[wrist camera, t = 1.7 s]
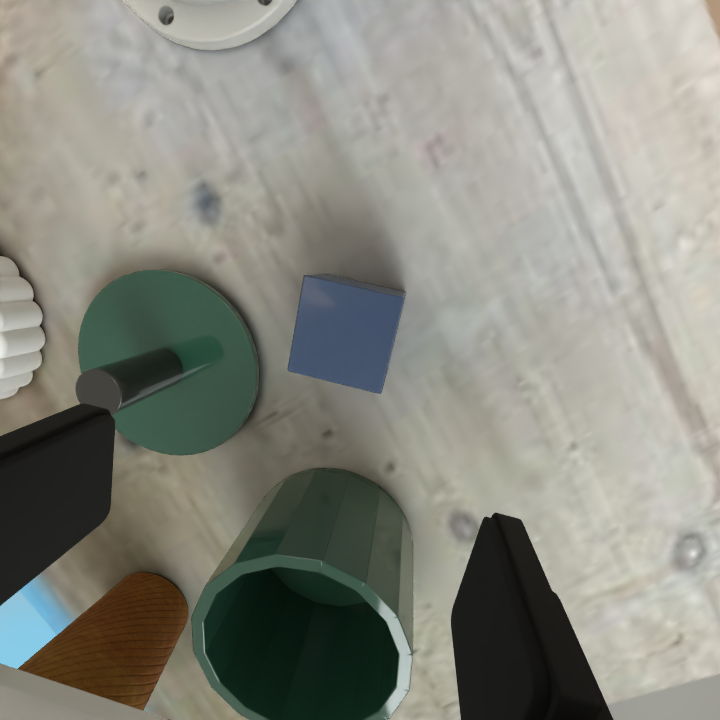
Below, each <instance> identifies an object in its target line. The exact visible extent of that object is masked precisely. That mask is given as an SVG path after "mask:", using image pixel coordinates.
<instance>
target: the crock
mask: <svg viewBox="0 0 720 720" xmlns="http://www.w3.org/2000/svg"><path fill="white" fill-rule="evenodd" d="M191 621H192V636H193V651H194V655H195V656H196V658H197V660H198V662H199V664H200V666H201V668H202V670H203V672H204V674H205V676H206V678H207V680H208V682H209V684H210V685H211V687H212V688H213V689H214V690H215V691H216V692H217V693H218V694H219V695H220V696H221V697H222V698H223V699H224V700H225V701H226V702H227V703H228V704H229V705H230V706H231V707H232V708H233V709H234V710H235V711H236V712H237V713H238V714H240V715H241V716H243V717H245V718H247V719H249V720H388V719H390V717H391V716H392V715H393V713H394V712H395V710H396V709H397V707H398V706H399V705H400V703H401V702H402V700H403V699H404V697H405V696H406V695H407V693H408V692H409V689H410V680H411V670H412V660H413V541H412V538H411V532H410V529H409V525H408V523H407V520H406V518H405V516H404V514H403V512H402V511H401V509H400V508H399V506H398V505H397V503H396V502H395V501H394V500H393V499H392V497H391V496H390V495H388V494H387V493H386V492H385V491H384V490H383V489H382V488H380V487H379V486H378V485H376V484H375V483H373V482H371V481H370V480H368V479H366V478H364V477H362V476H359V475H357V474H354V473H351V472H348V471H344V470H338V469H327V468H322V469H311V470H306V471H302V472H299V473H296V474H294V475H292V476H290V477H288V478H286V479H284V480H283V481H281V482H280V483H278V484H277V485H276V486H275V487H274V488H273V489H272V490H271V491H270V492H269V493H268V494H267V495H266V496H264V498H263V499H262V501H261V502H260V504H259V505H258V507H257V508H256V510H255V511H254V513H253V514H252V516H251V517H250V519H249V520H248V522H247V523H246V525H245V526H244V528H243V529H242V531H241V532H240V534H239V536H238V537H237V539H236V540H235V542H234V543H233V545H232V546H231V548H230V549H229V551H228V552H227V554H226V555H225V557H224V558H223V560H222V561H221V563H220V564H219V566H218V567H217V569H216V570H215V572H214V573H213V575H212V576H211V578H210V579H209V581H208V582H207V584H206V585H205V587H204V589H203V592H202V594H201V596H200V598H199V601H198V603H197V605H196V607H195V610H194V612H193V614H192V618H191Z"/></svg>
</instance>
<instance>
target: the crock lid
mask: <svg viewBox="0 0 720 720" xmlns="http://www.w3.org/2000/svg"><path fill="white" fill-rule="evenodd" d="M78 354H79V364H80V369H81V375H80V376H79V377H78V379H77V382H76V395H77V398H78V400H79V402H80V404H83V403H85V404H90V405H94V406H98V407H101V408H105V409H108V410H109V411H110V413H111V416H112V417H113V418H114V419H115V429H116V430H117V431H118V432H120V433H121V434H122V435H124V436H125V437H126V438H128V439H129V440H131V441H133V442H134V443H136V444H138V445H140V446H142V447H144V448H147V449H149V450H152V451H156V452H159V453H164V454H169V455H192V454H197V453H202V452H205V451H208V450H211V449H213V448H215V447H217V446H219V445H221V444H222V443H224V442H225V441H226V440H228V439H229V438H230V437H232V436H233V435H234V434H235V433H236V432H237V431H238V430H239V429H240V428H241V426H242V425H243V424H244V422H245V421H246V420H247V418H248V416H249V414H250V412H251V411H252V409H253V406H254V403H255V400H256V397H257V392H258V387H259V361H258V356H257V351H256V347H255V344H254V341H253V338H252V336H251V334H250V332H249V329H248V327H247V325H246V324H245V322H244V320H243V319H242V317H241V316H240V314H239V313H238V312H237V310H236V309H235V308H234V307H233V305H232V304H231V303H230V302H229V301H228V300H227V299H226V298H225V297H224V296H223V295H222V294H221V293H219V292H218V291H217V290H215V289H214V288H213V287H211V286H210V285H208V284H206V283H205V282H203V281H201V280H199V279H197V278H195V277H192V276H190V275H187V274H184V273H180V272H176V271H169V270H143V271H137V272H133V273H130V274H127V275H124V276H122V277H120V278H118V279H116V280H114V281H113V282H111V283H110V284H109V285H107V286H106V287H105V288H104V289H103V290H102V291H101V292H100V293H99V294H98V295H97V296H96V297H95V298H94V300H93V301H92V303H91V304H90V306H89V308H88V310H87V312H86V314H85V316H84V319H83V322H82V324H81V329H80V334H79V343H78Z"/></svg>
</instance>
